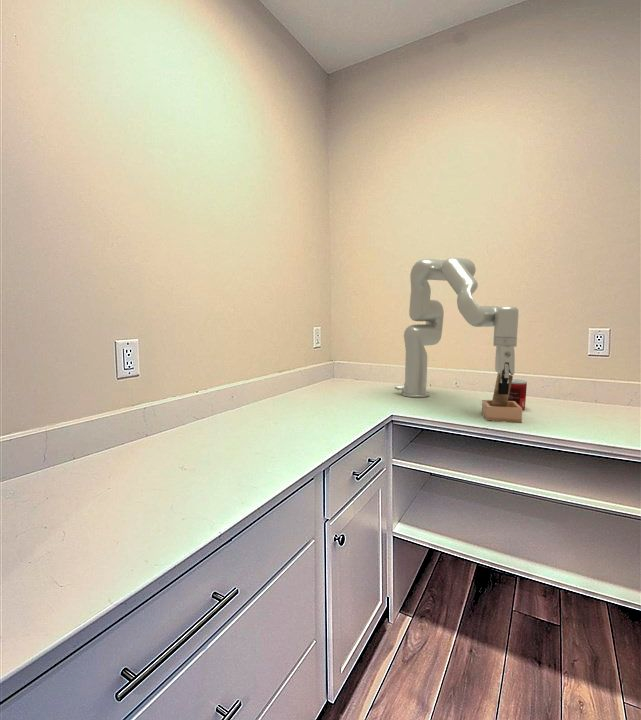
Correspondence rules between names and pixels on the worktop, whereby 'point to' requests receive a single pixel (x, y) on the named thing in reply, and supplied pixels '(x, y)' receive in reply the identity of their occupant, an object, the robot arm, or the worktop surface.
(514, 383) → the canned food
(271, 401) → the worktop surface
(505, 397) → the tan brown block
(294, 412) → the worktop surface
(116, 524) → the worktop surface
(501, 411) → the wooden tray
